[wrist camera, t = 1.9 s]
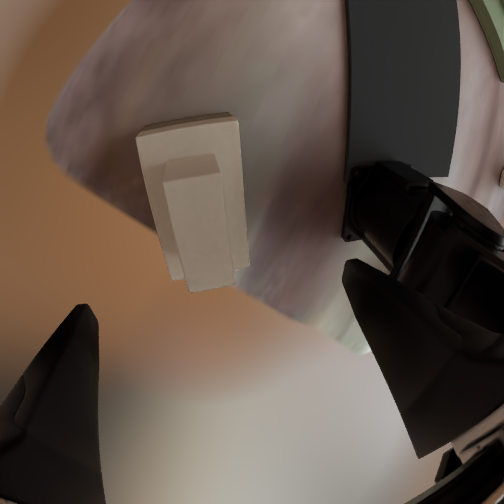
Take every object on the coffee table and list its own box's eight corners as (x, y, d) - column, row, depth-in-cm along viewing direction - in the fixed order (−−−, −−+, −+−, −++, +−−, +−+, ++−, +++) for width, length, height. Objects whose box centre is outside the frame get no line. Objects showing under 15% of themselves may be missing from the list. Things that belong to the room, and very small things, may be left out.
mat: (445, 175, 21) (448, 176, 21) (343, 180, 19) (346, 182, 19) (450, -17, 9) (453, -17, 9) (335, -66, 7) (338, -68, 7)
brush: (240, 237, 20) (261, 300, 15) (172, 249, 20) (171, 317, 15) (228, 111, 15) (252, 131, 10) (145, 125, 14) (121, 154, 9)
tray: (520, 57, 13) (531, 61, 12) (501, 82, 15) (514, 86, 14) (483, -30, 6) (496, -30, 5) (458, -19, 9) (472, -19, 7)
